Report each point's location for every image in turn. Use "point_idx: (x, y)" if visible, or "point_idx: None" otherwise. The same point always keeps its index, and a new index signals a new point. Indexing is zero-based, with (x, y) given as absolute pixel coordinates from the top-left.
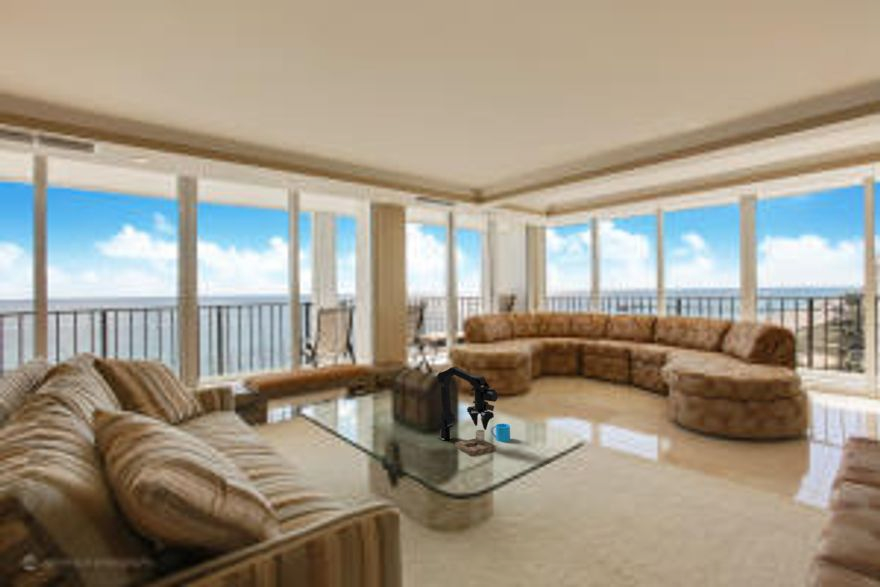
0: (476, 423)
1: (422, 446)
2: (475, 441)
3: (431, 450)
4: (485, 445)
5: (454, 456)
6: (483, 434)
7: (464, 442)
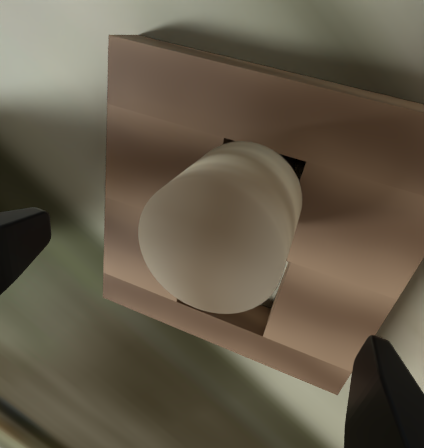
0: (15, 245)
1: (23, 351)
2: None
3: (94, 375)
4: (362, 210)
5: (254, 400)
6: (290, 233)
7: (141, 259)
